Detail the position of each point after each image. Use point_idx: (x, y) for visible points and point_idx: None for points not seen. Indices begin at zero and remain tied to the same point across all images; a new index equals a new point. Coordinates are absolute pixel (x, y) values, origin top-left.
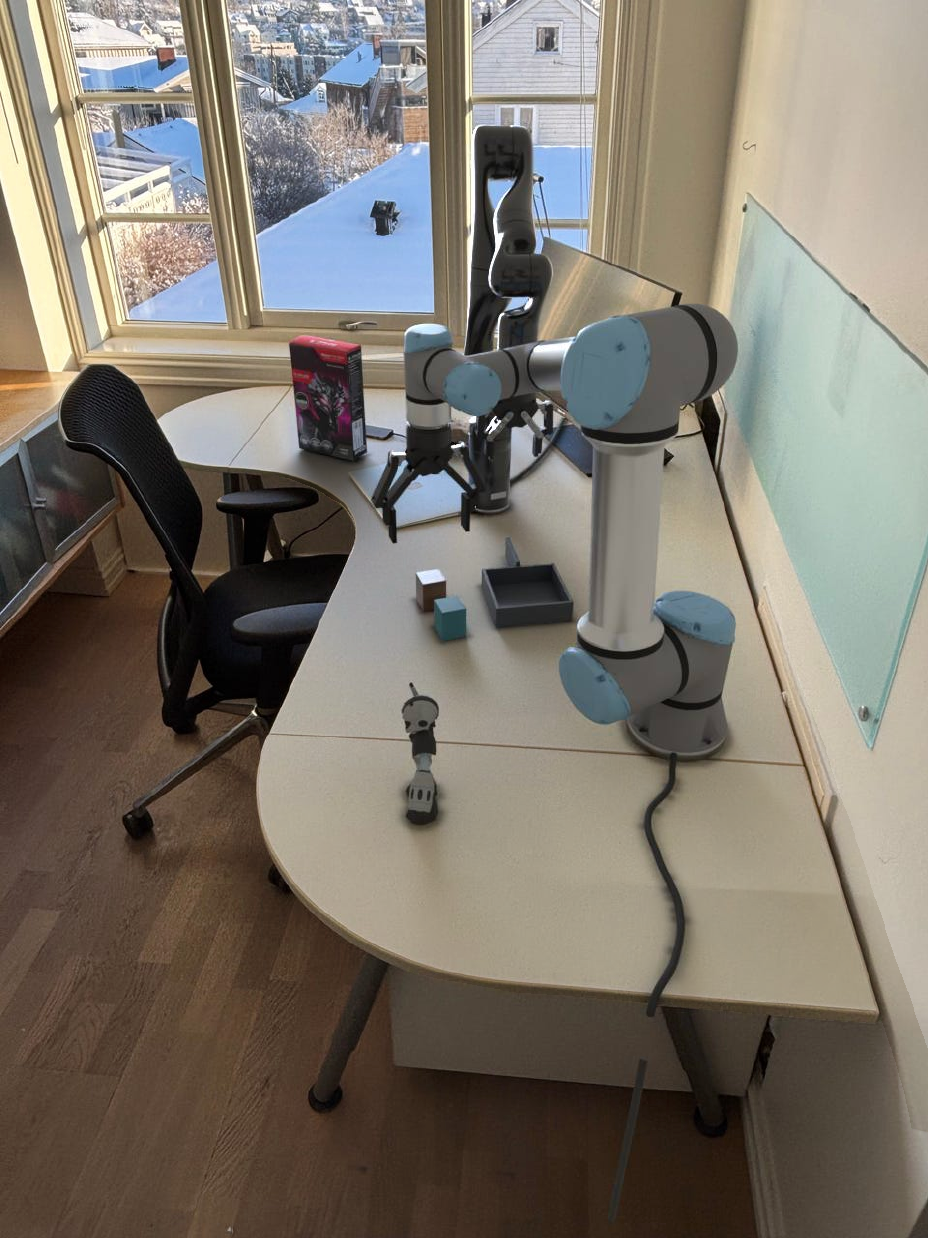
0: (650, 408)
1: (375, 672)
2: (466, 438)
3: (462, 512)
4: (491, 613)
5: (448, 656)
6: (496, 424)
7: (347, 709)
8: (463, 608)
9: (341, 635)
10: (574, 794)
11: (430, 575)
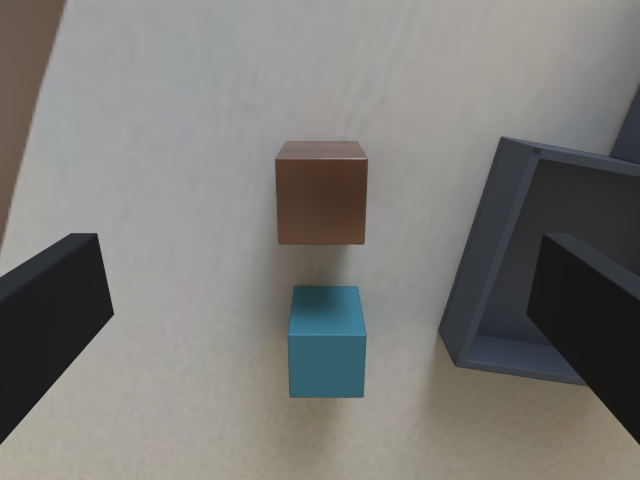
0: None
1: (125, 391)
2: None
3: (600, 310)
4: (455, 282)
5: None
6: None
7: (61, 466)
8: (355, 395)
9: (52, 243)
10: None
11: (322, 196)
